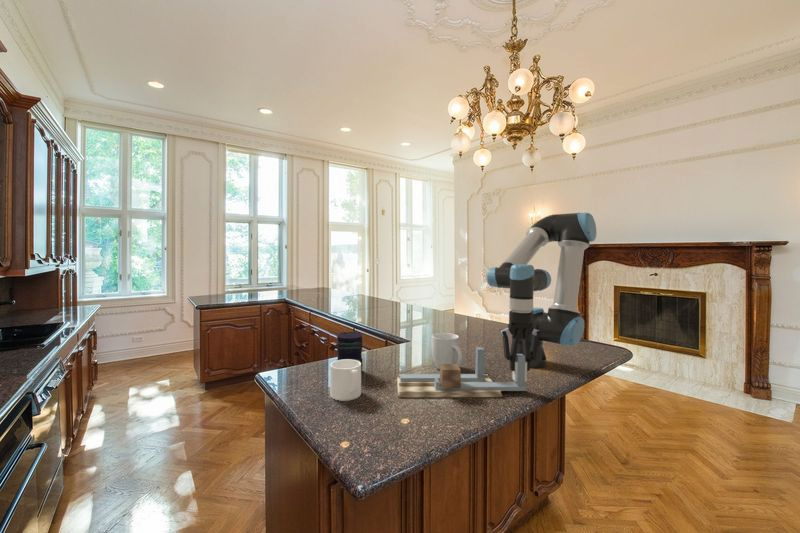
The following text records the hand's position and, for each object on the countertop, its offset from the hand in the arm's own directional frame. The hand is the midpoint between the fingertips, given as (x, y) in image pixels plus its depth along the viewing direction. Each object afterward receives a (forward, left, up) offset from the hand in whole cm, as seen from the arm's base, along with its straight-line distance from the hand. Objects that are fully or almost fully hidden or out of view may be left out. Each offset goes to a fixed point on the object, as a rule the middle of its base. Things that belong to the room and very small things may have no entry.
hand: (519, 379), depth 119 cm
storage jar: (+59, -19, -4) cm, 62 cm away
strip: (+13, 0, -3) cm, 14 cm away
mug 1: (+57, +3, -4) cm, 58 cm away
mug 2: (+21, -23, -4) cm, 32 cm away
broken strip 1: (+32, -8, -3) cm, 34 cm away
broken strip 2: (+16, -8, -3) cm, 18 cm away
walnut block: (+23, 0, -2) cm, 24 cm away
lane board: (+24, -4, -4) cm, 25 cm away
